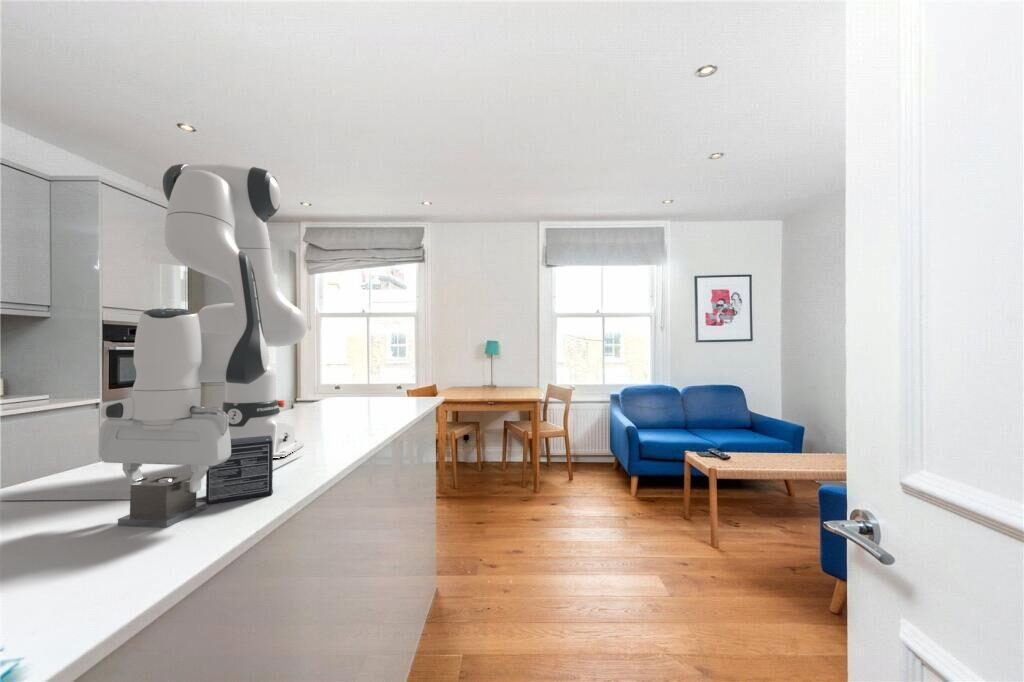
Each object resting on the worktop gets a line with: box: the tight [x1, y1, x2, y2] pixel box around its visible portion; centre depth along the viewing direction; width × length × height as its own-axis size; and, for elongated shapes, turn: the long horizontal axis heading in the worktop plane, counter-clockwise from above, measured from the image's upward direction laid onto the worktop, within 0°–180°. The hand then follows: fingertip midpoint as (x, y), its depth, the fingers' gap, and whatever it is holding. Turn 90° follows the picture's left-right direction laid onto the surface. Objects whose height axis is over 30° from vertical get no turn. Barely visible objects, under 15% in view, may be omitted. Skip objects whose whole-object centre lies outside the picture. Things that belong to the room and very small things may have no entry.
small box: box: [204, 435, 274, 506], centre depth 81 cm, size 11×6×10 cm, turn 122°
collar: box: [129, 473, 198, 518], centre depth 71 cm, size 6×6×5 cm
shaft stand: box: [117, 478, 208, 528], centre depth 71 cm, size 8×8×6 cm
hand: (165, 490), depth 71 cm, fingers open, 8 cm apart
